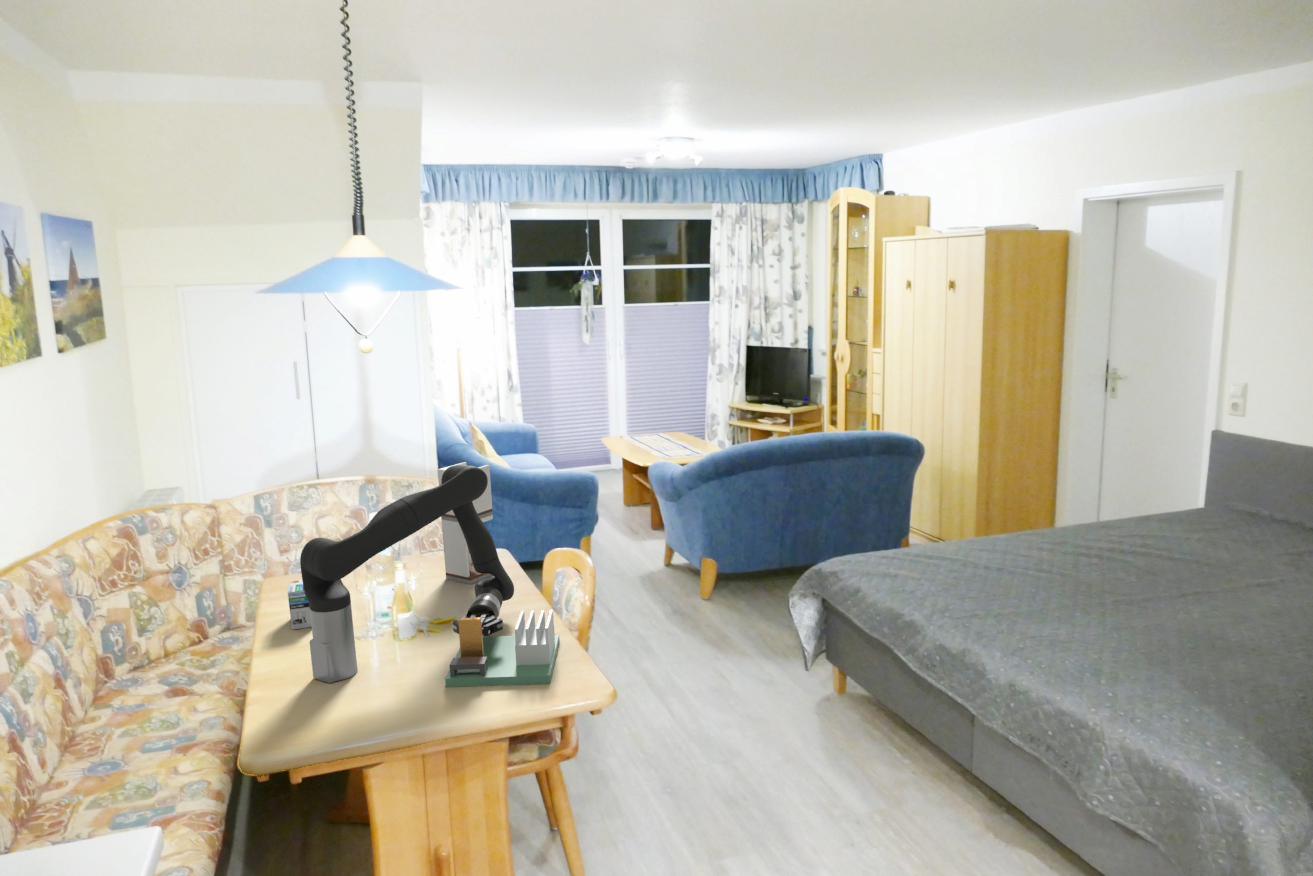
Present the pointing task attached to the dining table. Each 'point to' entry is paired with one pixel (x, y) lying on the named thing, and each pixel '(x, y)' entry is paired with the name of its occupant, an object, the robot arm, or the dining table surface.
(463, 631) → the upright wooden plank
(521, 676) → the heatsink board
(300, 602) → the light bulb box
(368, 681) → the dining table surface
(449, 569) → the notched white tower
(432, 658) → the dining table surface
